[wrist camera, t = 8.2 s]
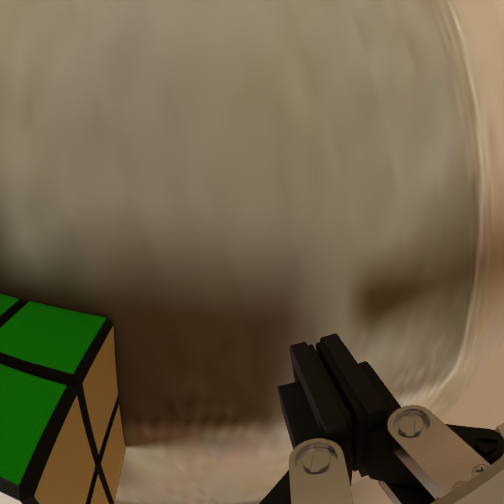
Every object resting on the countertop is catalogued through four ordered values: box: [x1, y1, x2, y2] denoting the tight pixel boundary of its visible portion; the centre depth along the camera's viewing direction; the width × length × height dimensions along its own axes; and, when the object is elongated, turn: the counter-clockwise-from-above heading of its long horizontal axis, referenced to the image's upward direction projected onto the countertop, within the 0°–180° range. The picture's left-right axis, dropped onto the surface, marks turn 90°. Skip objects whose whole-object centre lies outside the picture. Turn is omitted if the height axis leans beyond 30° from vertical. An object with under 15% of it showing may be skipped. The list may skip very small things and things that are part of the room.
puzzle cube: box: [0, 294, 126, 504], centre depth 9 cm, size 10×10×10 cm
